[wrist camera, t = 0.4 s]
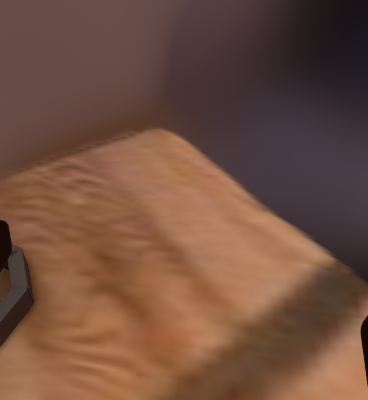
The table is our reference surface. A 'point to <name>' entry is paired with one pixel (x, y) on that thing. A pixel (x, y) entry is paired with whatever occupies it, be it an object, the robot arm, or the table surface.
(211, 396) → the table surface
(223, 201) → the table surface
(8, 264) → the socket ring
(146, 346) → the table surface
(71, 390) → the table surface
